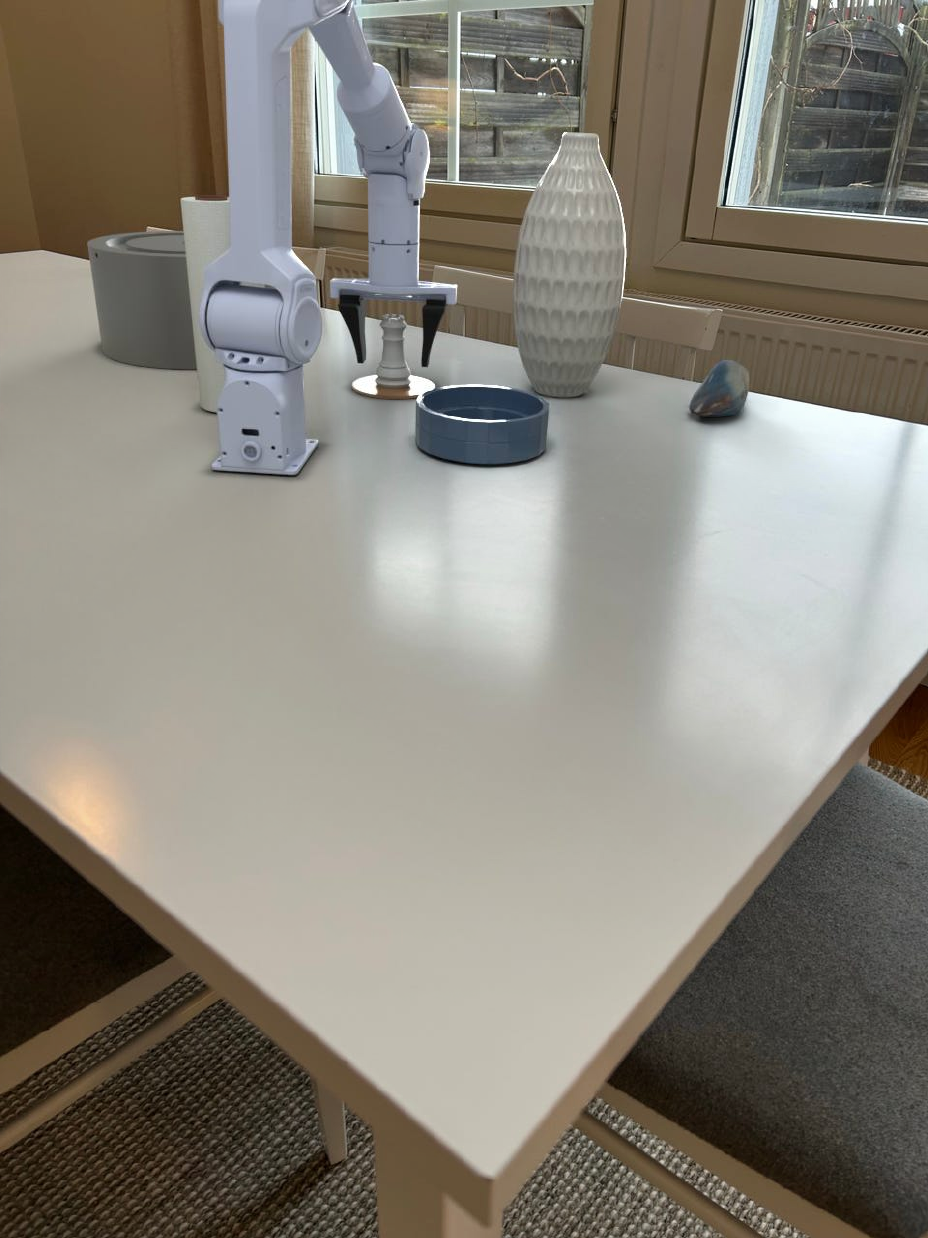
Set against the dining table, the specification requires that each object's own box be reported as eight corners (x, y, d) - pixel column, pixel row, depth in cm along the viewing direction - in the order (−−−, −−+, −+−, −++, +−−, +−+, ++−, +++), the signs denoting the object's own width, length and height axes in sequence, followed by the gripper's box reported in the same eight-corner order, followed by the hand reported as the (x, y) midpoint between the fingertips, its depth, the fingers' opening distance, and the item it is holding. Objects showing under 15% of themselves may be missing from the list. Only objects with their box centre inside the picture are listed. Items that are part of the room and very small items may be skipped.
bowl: (545, 471, 90) (548, 425, 88) (407, 463, 91) (408, 417, 89) (546, 430, 102) (549, 388, 100) (424, 422, 103) (425, 381, 101)
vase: (491, 381, 119) (503, 129, 106) (581, 375, 124) (604, 132, 110) (533, 408, 109) (553, 133, 96) (630, 401, 113) (662, 136, 100)
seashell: (700, 403, 103) (775, 349, 103) (662, 391, 111) (731, 341, 111) (723, 450, 106) (796, 397, 106) (684, 434, 114) (751, 386, 114)
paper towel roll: (194, 413, 102) (172, 197, 92) (208, 398, 108) (189, 192, 98) (261, 416, 103) (246, 200, 92) (271, 400, 108) (259, 195, 98)
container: (72, 340, 130) (55, 236, 124) (234, 320, 145) (227, 227, 139) (154, 379, 114) (140, 262, 108) (327, 353, 129) (324, 249, 123)
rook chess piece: (406, 390, 112) (407, 321, 109) (370, 387, 113) (369, 318, 109) (415, 381, 116) (416, 314, 112) (380, 378, 117) (380, 311, 113)
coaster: (429, 401, 110) (429, 398, 110) (344, 396, 111) (344, 392, 111) (439, 379, 119) (439, 376, 119) (360, 375, 119) (360, 372, 119)
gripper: (460, 240, 110) (456, 358, 116) (337, 234, 111) (340, 352, 117) (455, 248, 104) (451, 373, 110) (324, 241, 105) (328, 365, 111)
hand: (393, 363), depth 113 cm, fingers open, 7 cm apart
